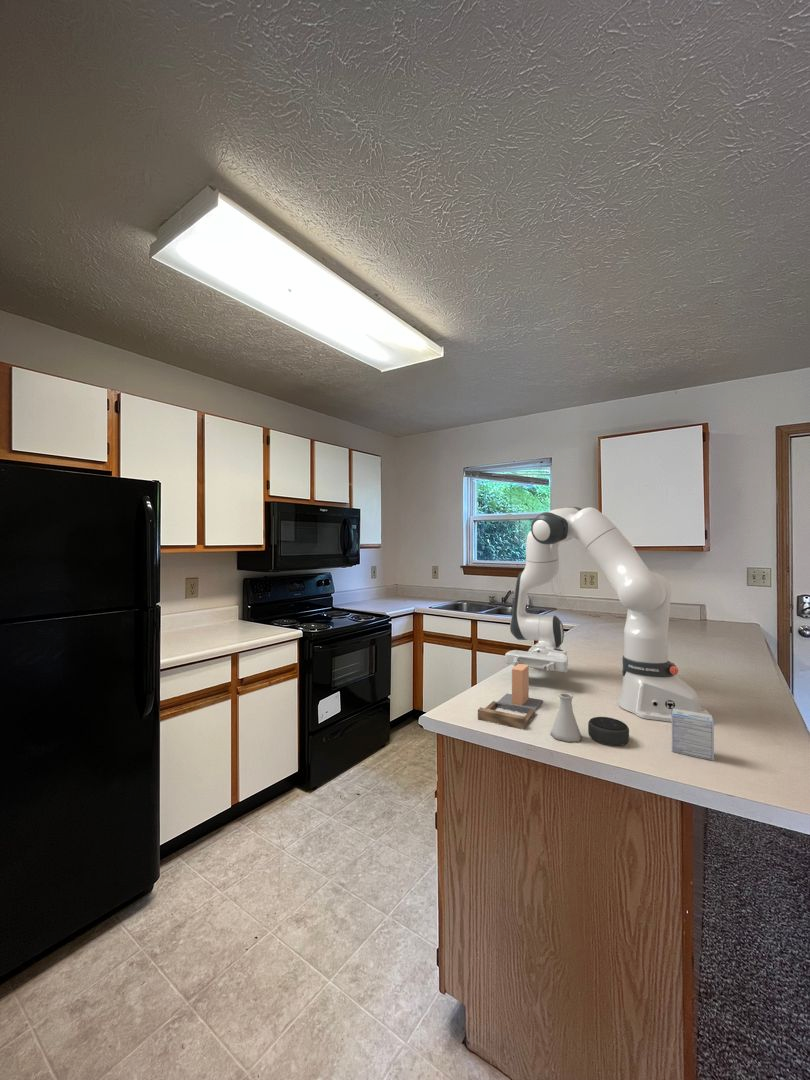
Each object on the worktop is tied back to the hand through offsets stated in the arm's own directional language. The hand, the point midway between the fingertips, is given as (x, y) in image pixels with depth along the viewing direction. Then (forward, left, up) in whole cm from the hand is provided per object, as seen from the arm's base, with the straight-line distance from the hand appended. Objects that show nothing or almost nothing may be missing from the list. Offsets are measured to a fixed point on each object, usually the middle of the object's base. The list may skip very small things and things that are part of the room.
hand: (530, 666), depth 139 cm
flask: (-16, +29, -8) cm, 34 cm away
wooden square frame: (0, +24, -8) cm, 25 cm away
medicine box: (-42, +23, -8) cm, 49 cm away
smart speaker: (-25, +25, -8) cm, 36 cm away
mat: (0, +12, -8) cm, 15 cm away
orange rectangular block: (0, +12, -8) cm, 14 cm away
